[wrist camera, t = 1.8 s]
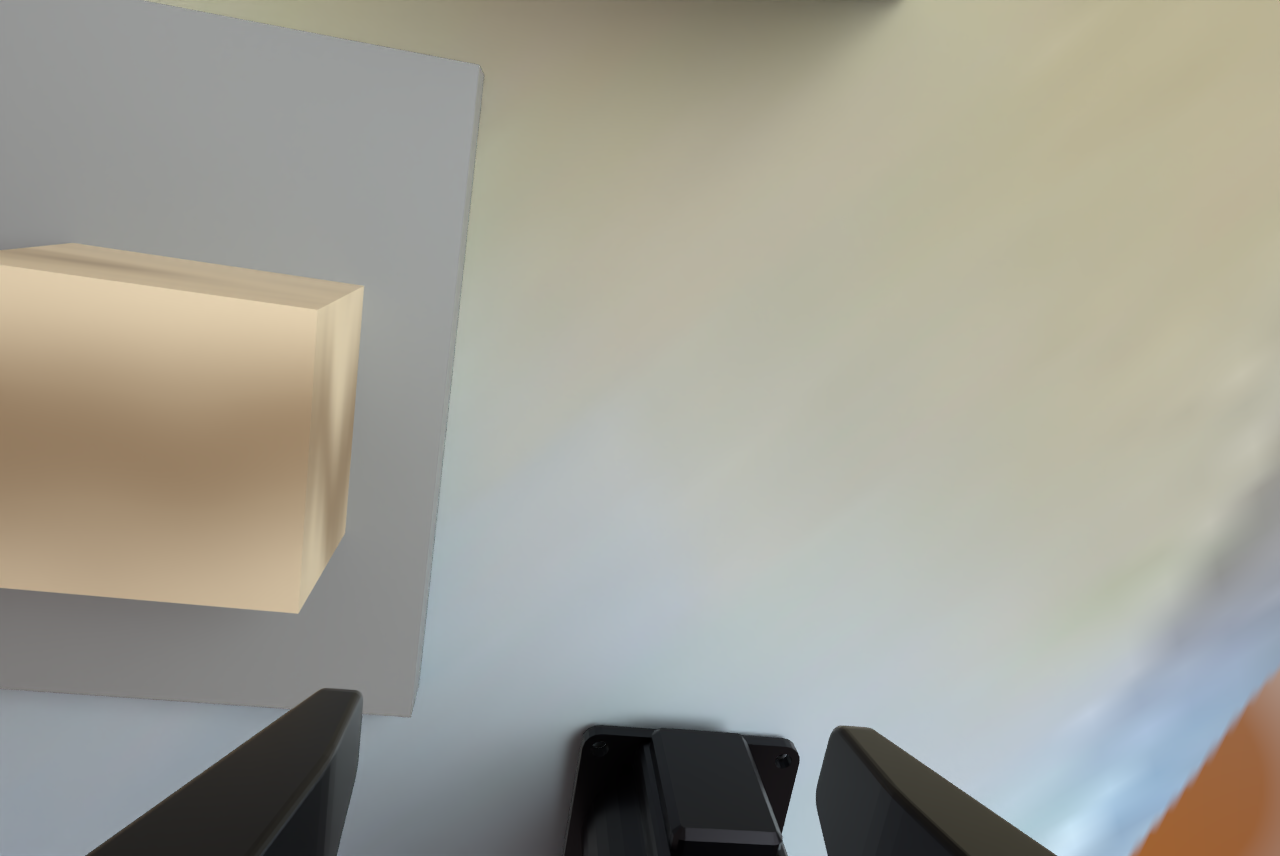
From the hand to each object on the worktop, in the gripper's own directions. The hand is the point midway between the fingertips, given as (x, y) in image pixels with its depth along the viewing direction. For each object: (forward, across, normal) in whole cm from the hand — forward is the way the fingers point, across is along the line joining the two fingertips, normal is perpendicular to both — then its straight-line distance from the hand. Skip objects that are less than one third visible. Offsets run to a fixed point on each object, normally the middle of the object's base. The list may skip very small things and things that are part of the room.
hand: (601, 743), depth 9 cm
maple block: (+12, +8, 0) cm, 14 cm away
